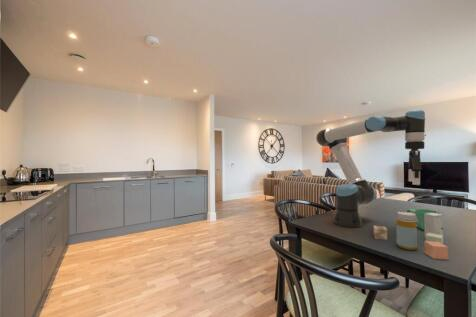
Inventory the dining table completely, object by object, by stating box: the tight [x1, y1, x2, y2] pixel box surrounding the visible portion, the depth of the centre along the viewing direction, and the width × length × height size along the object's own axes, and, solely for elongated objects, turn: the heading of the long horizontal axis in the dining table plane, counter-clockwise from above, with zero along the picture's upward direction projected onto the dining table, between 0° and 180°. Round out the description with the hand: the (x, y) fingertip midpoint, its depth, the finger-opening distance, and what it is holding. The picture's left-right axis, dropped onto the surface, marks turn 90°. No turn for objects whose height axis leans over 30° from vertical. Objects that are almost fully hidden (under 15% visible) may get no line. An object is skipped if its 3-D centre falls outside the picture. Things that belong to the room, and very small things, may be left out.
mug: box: [406, 208, 440, 231], centre depth 116 cm, size 15×10×10 cm
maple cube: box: [373, 225, 388, 241], centre depth 104 cm, size 5×5×5 cm
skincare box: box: [424, 212, 444, 239], centre depth 101 cm, size 6×4×12 cm
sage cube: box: [425, 233, 444, 245], centre depth 93 cm, size 5×5×5 cm
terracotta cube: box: [423, 240, 449, 260], centre depth 84 cm, size 5×5×5 cm
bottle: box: [395, 211, 418, 251], centre depth 92 cm, size 7×7×15 cm
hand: (413, 183), depth 106 cm, fingers open, 13 cm apart
